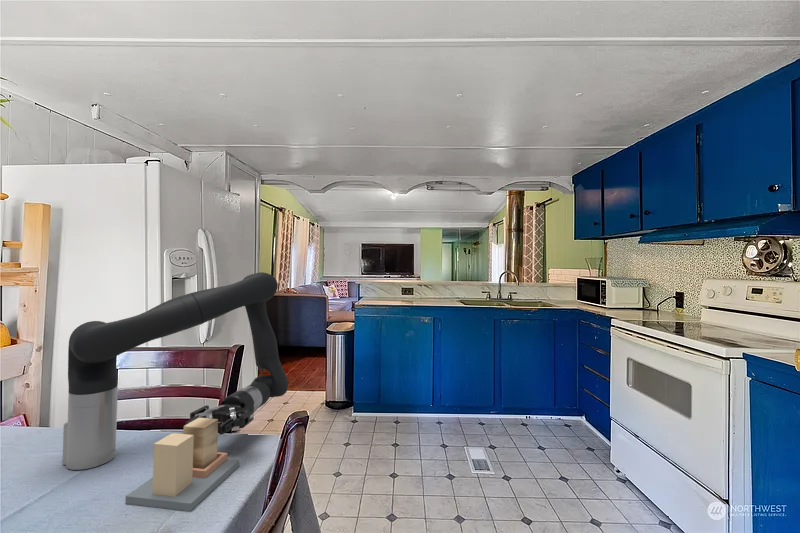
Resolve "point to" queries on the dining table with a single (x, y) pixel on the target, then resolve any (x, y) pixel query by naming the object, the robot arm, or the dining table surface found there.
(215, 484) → the base board
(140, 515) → the dining table surface
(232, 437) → the dining table surface
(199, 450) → the maple pillar
